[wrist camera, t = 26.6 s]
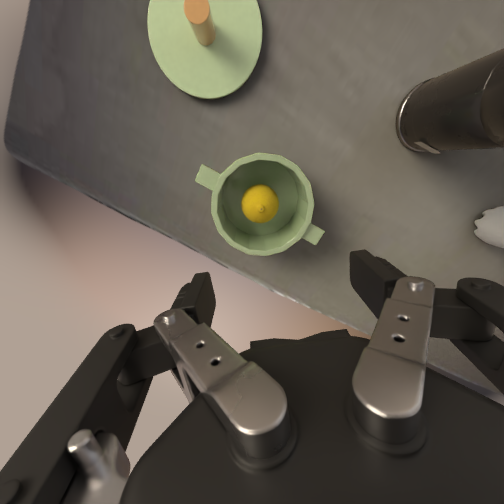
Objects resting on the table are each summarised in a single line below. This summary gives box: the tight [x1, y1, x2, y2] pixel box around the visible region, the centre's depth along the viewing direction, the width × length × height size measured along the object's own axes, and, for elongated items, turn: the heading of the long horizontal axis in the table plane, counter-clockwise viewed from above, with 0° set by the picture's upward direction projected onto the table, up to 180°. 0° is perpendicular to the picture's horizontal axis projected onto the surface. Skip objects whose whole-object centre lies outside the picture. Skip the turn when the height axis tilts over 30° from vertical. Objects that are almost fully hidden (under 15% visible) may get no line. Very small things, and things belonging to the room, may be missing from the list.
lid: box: [148, 0, 262, 99], centre depth 29 cm, size 15×15×7 cm
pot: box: [195, 153, 325, 256], centre depth 36 cm, size 14×19×8 cm
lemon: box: [241, 184, 279, 223], centre depth 36 cm, size 6×6×8 cm
